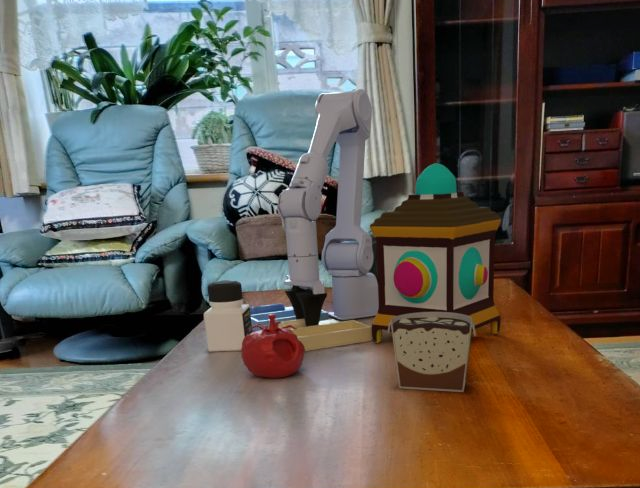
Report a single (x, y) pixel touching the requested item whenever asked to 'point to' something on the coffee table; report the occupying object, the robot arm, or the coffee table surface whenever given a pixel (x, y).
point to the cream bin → (333, 334)
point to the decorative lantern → (436, 254)
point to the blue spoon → (269, 309)
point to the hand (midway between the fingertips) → (308, 326)
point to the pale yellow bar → (302, 323)
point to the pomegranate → (272, 351)
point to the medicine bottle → (226, 316)
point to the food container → (432, 350)
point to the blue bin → (278, 318)
